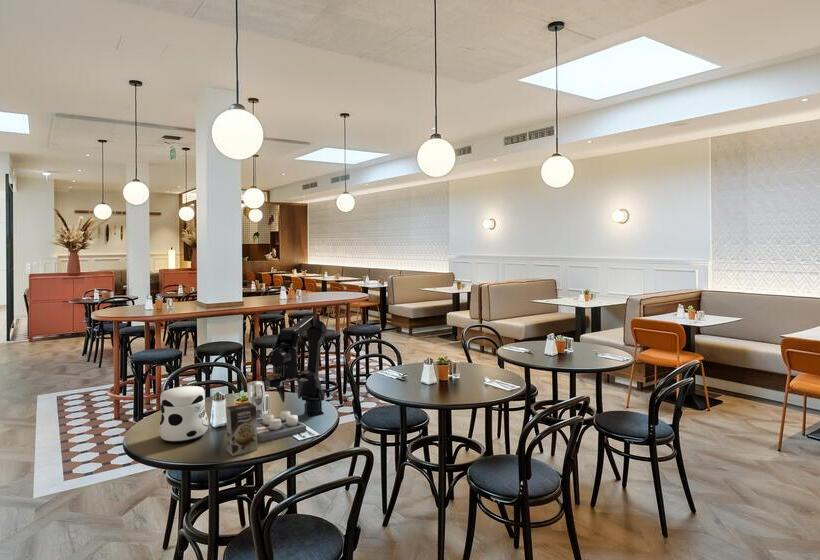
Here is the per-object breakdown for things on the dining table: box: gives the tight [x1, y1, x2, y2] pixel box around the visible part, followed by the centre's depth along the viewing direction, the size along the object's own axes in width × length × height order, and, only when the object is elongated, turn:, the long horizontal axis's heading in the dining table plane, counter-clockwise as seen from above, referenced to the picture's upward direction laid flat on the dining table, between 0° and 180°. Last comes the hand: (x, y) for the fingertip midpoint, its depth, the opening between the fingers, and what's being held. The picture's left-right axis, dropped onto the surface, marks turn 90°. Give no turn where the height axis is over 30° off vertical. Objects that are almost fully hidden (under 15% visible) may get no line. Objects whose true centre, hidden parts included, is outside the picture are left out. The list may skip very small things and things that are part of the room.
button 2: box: [269, 419, 281, 430], centre depth 199 cm, size 4×4×3 cm
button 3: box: [278, 410, 292, 421], centre depth 209 cm, size 4×4×3 cm
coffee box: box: [225, 402, 258, 457], centre depth 183 cm, size 9×6×16 cm
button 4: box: [286, 414, 299, 426], centre depth 203 cm, size 4×4×3 cm
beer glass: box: [247, 380, 266, 421], centre depth 218 cm, size 7×7×15 cm
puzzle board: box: [257, 416, 307, 444], centre depth 203 cm, size 18×17×3 cm
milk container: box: [158, 385, 209, 443], centre depth 197 cm, size 17×17×18 cm
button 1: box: [262, 413, 275, 425], centre depth 204 cm, size 4×4×3 cm
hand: (291, 400), depth 203 cm, fingers open, 6 cm apart
